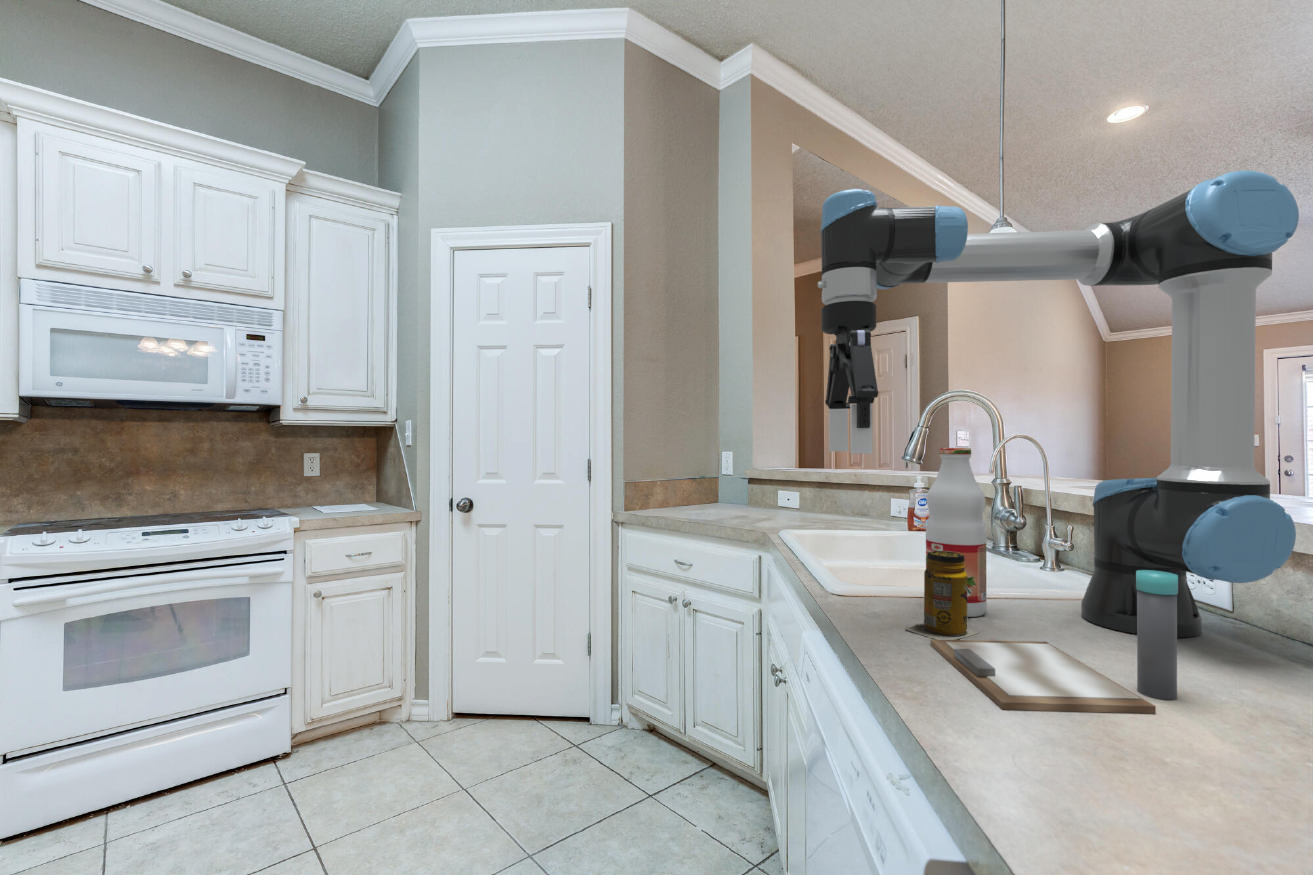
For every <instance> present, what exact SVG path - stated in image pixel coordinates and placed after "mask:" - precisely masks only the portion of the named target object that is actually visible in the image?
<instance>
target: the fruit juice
mask: <svg viewBox="0 0 1313 875" xmlns="http://www.w3.org/2000/svg"><path fill="white" fill-rule="evenodd" d="M939 457H940V459H941V462H940V463H941V464H940V468H939V470H938V473H937V476H936V478H935V480H934V482H933V483H932V485H931V486H930V487H929V489H928V490H927V491H928V492H927V493H926V506H927V508H928V512H929V518H928V520H927V522H926V526H925V569H926V568H927V565H926V564H927V561H928V559H927V555H928V553H929V552H932V551H948V552H955V553H959V554H962V555H964V558H965V560H964V564H965V569H964V571H965V572H966V574H967V618H977V617H982V616H983V615H985V614H986V611H987V529H986V525H985V523H984V521H983V514H984V511H985V507H986V497H985V493H984V491H983V490H982V488H981V487H980V486H979V484H978V483H977V480H976V479H975V475H974V473H973V470H972V467H971V463H970V459H971V458H972V448H969V447H941V448H940V449H939Z"/></svg>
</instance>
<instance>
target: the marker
mask: <svg viewBox="0 0 1313 875" xmlns="http://www.w3.org/2000/svg"><path fill="white" fill-rule="evenodd" d="M1136 589H1137V634H1136V650H1137V652H1136V659H1137V660H1136V668H1137V669H1136V675H1137V676H1136V677H1137V678H1136V679H1137V680H1136V681H1137V682H1136V684H1137V685H1136V686H1137V687H1136V688H1137V692H1138V693H1140V694H1141V695H1144V696H1145V697H1149V698H1152V699H1156V700H1164V701H1173V700H1177V699H1178V637H1177V594H1178V575H1176V574H1173V573H1169V572H1163V571H1155V570H1137V571H1136Z"/></svg>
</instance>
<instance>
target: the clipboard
mask: <svg viewBox="0 0 1313 875" xmlns="http://www.w3.org/2000/svg"><path fill="white" fill-rule="evenodd" d="M930 647H932V648H933V649H934V650H935V651H936V652H938V653H939V654H940V655H941V656H942V657H943V658H944V659H945V660H947V661H948V662H949V663H950V665H952V666H953V667H955V669H956V670H958V671H959V673H961V674H962V675H963V676H964V677H965V678H966V679H968V680H969V682H971V683H972V684H973V685H975V687H977V688H978V690H980V691H981V692H982V693H983V694H984V695H985V696H987V698H989V700H991V701H992V702H993V703H995V705H997V706H998V707H999V708H1000V709H1001V710H1003V711H1004V710H1005V711H1006V710H1007V711H1041V712H1043V711H1044V712H1078V713H1079V712H1080V713H1081V712H1083V713H1084V712H1085V713H1088V712H1089V713H1118V714H1119V713H1120V714H1151V715H1152V714H1153V715H1156V714H1157V713H1156V712H1157V709H1156V705H1154V704H1152V703H1151V702H1149V701H1147V700H1146V699H1144V698H1142V697H1140V696H1139V695H1138V694H1136V693H1134V692H1133V691H1130V690H1129V689H1127V688H1125V687H1124V686H1122V685H1120V684H1119V683H1117V682H1116V681H1114V680H1112V679H1110V678H1109V677H1107V676H1105V675H1104V674H1102V673H1101V672H1098V671H1097V670H1095V669H1093V668H1092V667H1090V666H1088V665H1087V664H1085V663H1083V662H1081V661H1080V660H1078V659H1076V658H1074V657H1073V656H1071V655H1069V654H1068V653H1067V652H1064V651H1063V650H1061V649H1059V648H1058V647H1056V646H1054V645H1053V644H1051V643H1049V642H1047V641H1031V640H1030V641H1026V640H1025V641H1024V640H1022V641H1020V640H1014V641H1013V640H982V639H981V640H978V639H977V640H976V639H975V640H974V639H973V640H972V639H969V640H968V639H956V640H937V639H930Z"/></svg>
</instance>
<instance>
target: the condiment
mask: <svg viewBox="0 0 1313 875" xmlns="http://www.w3.org/2000/svg"><path fill="white" fill-rule="evenodd" d="M927 559H928V561H927V564H926V563H925V566H926V565H927V568H926V567H925V570H924V574H923V576H924V577H923V579H924V580H923V581H924V582H923V584H924V586H923V587H924V588H923V589H924V592H923V596H924V597H923V598H924V599H923V608H924V610H923V618H924V619H923V623H920V624H915V625H912V626H907V627H904V628H903V629H904V630H906V631H908V632H911V633H913V634H914V633H915V634H918V635H920V636H924V637H926V638H928V639H933V640H960V639H963V638H968V637H971V636H973V635H977V634H979V633H980V631H979V630H978V631H977V630H974V629H969V628H968V617H967V574H966V572H965V571H964V569H965V564H964V560H965V558H964V555H962V554H959V553H955V552H948V551H932V552H929V553H928V555H927Z"/></svg>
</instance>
